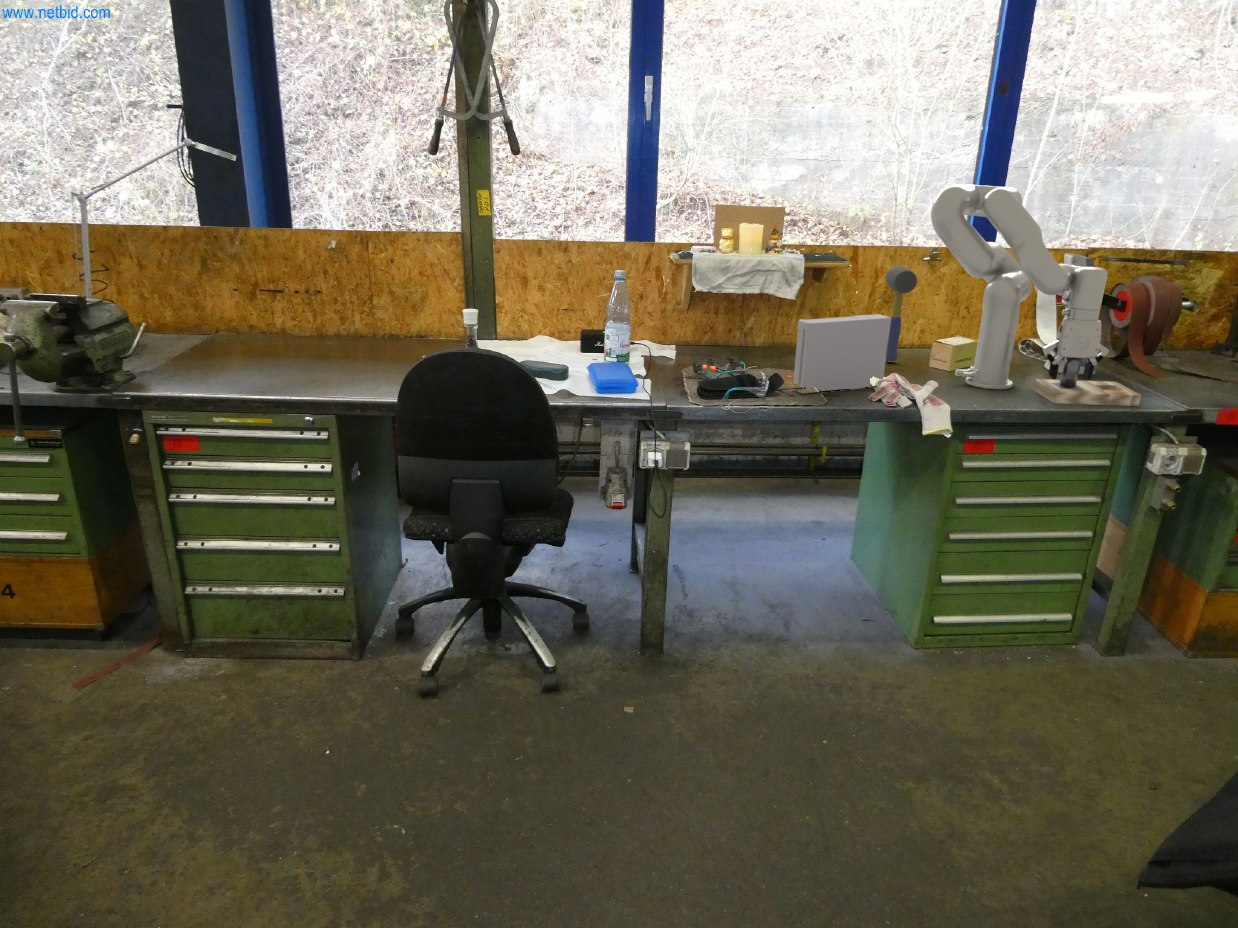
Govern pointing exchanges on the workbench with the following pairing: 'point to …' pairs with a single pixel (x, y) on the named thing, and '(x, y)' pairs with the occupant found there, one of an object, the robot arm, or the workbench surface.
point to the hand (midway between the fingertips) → (1069, 378)
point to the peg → (1070, 372)
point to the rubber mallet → (898, 304)
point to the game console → (841, 351)
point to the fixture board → (1087, 393)
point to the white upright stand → (1076, 261)
